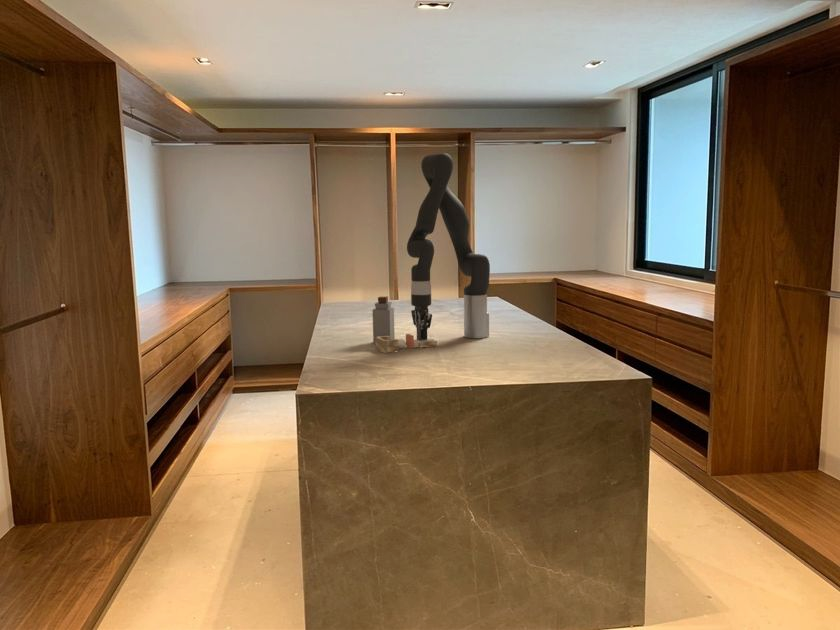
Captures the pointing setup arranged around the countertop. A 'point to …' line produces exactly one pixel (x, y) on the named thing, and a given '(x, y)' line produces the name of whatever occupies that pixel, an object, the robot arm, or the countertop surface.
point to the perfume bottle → (383, 319)
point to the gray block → (415, 343)
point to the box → (386, 344)
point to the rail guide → (428, 344)
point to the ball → (401, 343)
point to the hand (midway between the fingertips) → (421, 337)
